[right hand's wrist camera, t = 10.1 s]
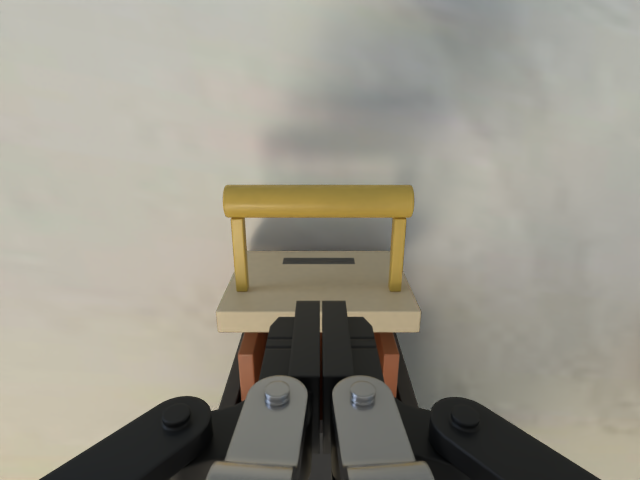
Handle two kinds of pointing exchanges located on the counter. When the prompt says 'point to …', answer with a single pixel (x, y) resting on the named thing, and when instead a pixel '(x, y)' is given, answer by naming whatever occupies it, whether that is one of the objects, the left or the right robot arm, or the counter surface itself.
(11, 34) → the counter surface
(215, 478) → the right robot arm
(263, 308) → the drawer
